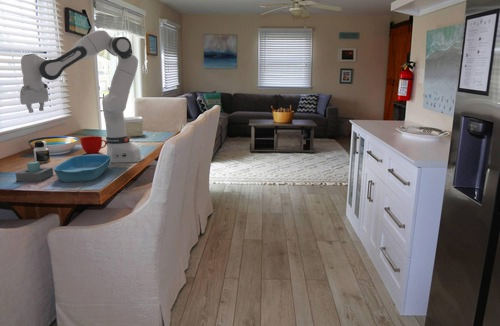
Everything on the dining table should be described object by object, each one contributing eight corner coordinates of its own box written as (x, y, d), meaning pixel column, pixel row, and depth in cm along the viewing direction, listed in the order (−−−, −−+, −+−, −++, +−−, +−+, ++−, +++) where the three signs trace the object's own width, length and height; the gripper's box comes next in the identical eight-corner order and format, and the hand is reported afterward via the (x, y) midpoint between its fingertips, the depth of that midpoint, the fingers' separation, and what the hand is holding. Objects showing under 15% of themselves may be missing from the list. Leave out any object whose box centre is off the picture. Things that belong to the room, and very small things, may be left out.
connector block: (41, 175, 205) (39, 161, 203) (36, 177, 201) (34, 163, 199) (33, 175, 205) (31, 161, 204) (29, 177, 201) (27, 163, 200)
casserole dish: (96, 184, 193) (94, 169, 191) (48, 185, 192) (46, 170, 190) (116, 165, 229) (115, 153, 227) (76, 166, 228) (74, 154, 226)
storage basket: (113, 138, 316) (111, 119, 313) (112, 135, 331) (111, 117, 328) (144, 136, 324) (143, 118, 321) (142, 133, 339) (141, 116, 336)
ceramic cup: (101, 156, 254) (100, 140, 251) (77, 154, 257) (76, 139, 254) (112, 151, 266) (111, 136, 264) (89, 150, 269) (87, 136, 267)
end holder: (53, 175, 209) (52, 167, 208) (40, 181, 197) (39, 173, 196) (31, 174, 210) (30, 167, 209) (16, 181, 198) (15, 173, 197)
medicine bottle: (37, 163, 236) (34, 142, 233) (34, 160, 241) (32, 141, 238) (50, 161, 240) (47, 141, 237) (48, 159, 245) (45, 139, 243)
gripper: (27, 86, 203) (30, 113, 207) (49, 84, 223) (52, 109, 227) (15, 86, 204) (18, 113, 207) (38, 84, 224) (41, 109, 227)
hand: (36, 111), depth 217 cm, fingers open, 8 cm apart
